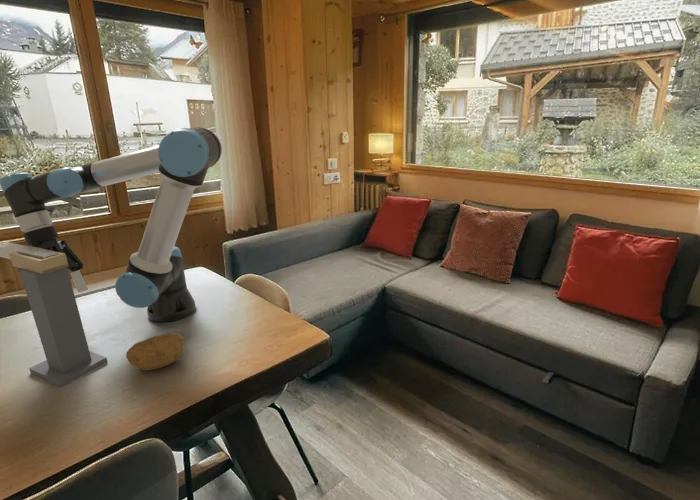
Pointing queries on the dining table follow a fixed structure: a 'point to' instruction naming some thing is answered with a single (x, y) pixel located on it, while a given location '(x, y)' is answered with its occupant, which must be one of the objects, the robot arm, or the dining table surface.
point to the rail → (23, 251)
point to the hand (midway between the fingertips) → (69, 297)
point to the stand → (56, 319)
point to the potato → (156, 351)
